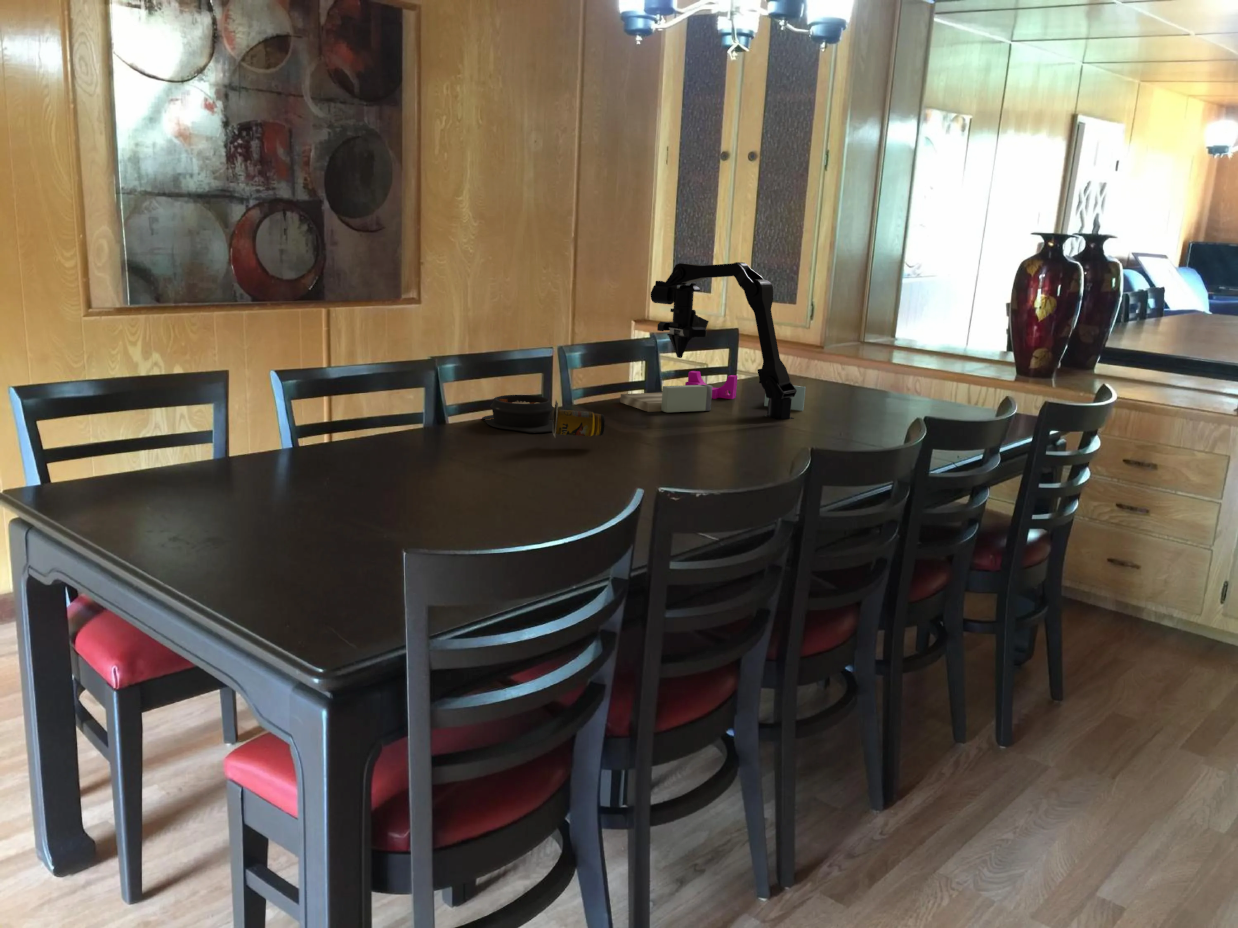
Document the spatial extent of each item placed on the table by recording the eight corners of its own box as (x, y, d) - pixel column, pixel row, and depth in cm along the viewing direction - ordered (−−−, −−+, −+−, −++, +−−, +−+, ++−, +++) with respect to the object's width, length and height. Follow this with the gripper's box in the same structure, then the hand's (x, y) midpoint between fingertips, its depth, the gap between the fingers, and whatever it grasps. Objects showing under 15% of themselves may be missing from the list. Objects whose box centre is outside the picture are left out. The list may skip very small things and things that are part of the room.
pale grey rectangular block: (706, 408, 284) (708, 384, 282) (712, 410, 281) (714, 386, 279) (660, 410, 276) (662, 386, 274) (667, 412, 273) (668, 387, 272)
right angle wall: (802, 412, 290) (804, 387, 288) (763, 407, 295) (766, 382, 294) (813, 407, 301) (815, 383, 299) (775, 402, 306) (778, 378, 304)
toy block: (684, 396, 307) (686, 372, 305) (690, 394, 313) (692, 370, 311) (730, 401, 301) (731, 377, 300) (735, 399, 307) (737, 375, 305)
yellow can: (554, 438, 231) (604, 441, 234) (557, 403, 230) (607, 406, 232) (551, 432, 238) (599, 435, 241) (554, 398, 237) (602, 401, 239)
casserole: (465, 425, 262) (465, 394, 260) (519, 419, 274) (520, 389, 272) (523, 442, 244) (524, 409, 242) (578, 434, 257) (579, 403, 255)
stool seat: (706, 409, 284) (707, 400, 284) (648, 411, 274) (648, 403, 274) (676, 400, 298) (677, 392, 297) (620, 402, 288) (620, 394, 287)
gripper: (723, 309, 287) (719, 361, 291) (688, 303, 303) (684, 353, 307) (691, 308, 282) (688, 362, 285) (658, 303, 298) (654, 354, 301)
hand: (679, 357), depth 295 cm, fingers closed
